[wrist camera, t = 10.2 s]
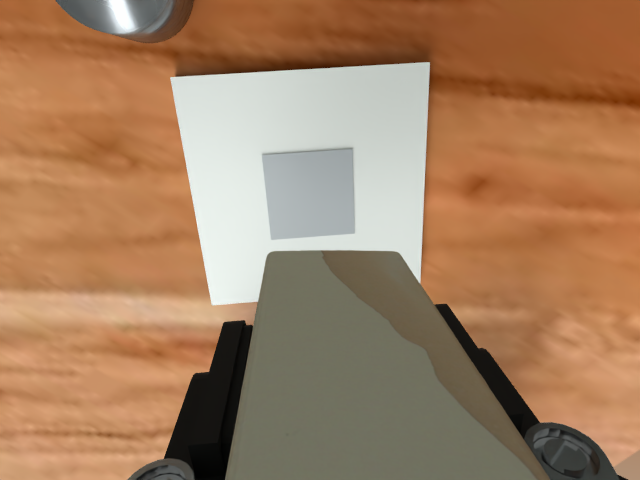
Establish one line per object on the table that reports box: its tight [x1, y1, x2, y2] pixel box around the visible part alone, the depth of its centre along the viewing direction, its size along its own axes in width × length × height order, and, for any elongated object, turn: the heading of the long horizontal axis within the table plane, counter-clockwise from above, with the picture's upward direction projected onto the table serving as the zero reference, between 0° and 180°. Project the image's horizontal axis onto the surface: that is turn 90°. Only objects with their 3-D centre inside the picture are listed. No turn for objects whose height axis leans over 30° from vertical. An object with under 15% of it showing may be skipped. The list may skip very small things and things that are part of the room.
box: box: [225, 250, 550, 480], centre depth 8 cm, size 5×4×11 cm
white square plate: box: [170, 62, 430, 305], centre depth 27 cm, size 16×16×1 cm
